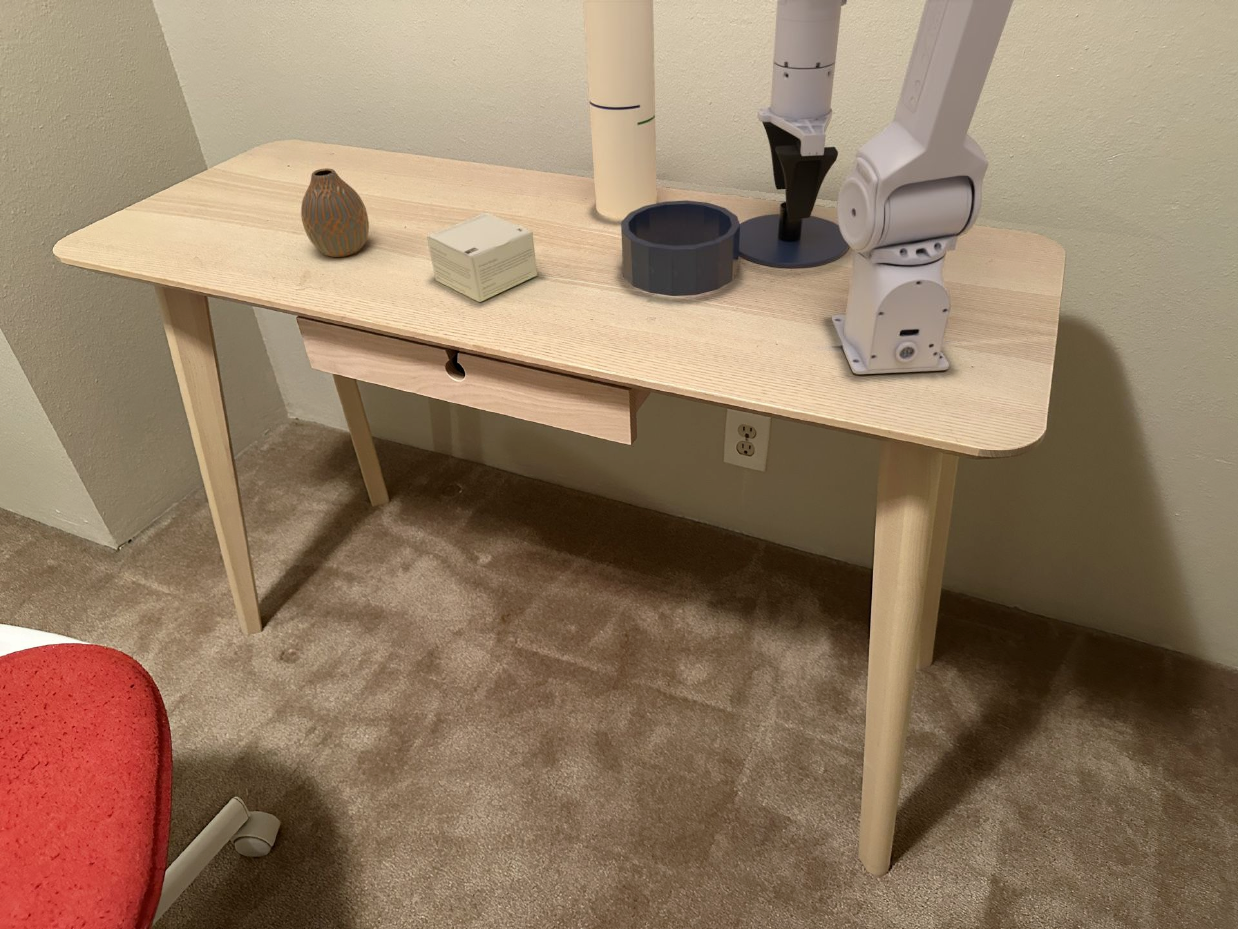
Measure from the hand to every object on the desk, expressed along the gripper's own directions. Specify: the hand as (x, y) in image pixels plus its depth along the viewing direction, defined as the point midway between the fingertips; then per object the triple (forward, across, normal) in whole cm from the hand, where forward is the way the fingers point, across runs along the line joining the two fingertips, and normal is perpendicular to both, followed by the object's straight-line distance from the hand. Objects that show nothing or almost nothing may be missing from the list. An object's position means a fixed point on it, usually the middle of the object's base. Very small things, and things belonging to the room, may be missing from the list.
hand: (792, 202), depth 88 cm
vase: (+5, -5, -49) cm, 50 cm away
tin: (+5, +5, -12) cm, 14 cm away
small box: (+5, +4, -32) cm, 33 cm away
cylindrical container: (+5, -12, -17) cm, 21 cm away
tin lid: (+4, 0, 0) cm, 4 cm away
